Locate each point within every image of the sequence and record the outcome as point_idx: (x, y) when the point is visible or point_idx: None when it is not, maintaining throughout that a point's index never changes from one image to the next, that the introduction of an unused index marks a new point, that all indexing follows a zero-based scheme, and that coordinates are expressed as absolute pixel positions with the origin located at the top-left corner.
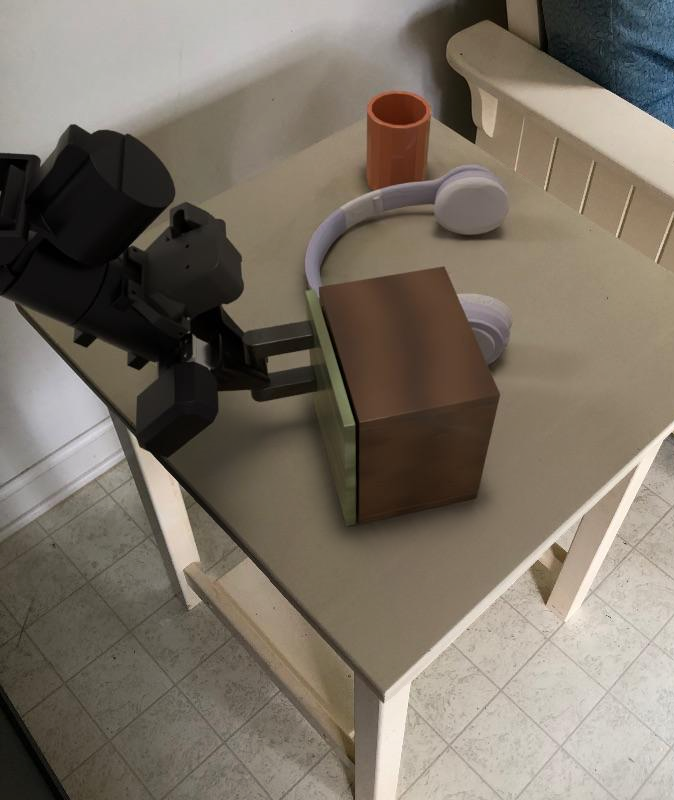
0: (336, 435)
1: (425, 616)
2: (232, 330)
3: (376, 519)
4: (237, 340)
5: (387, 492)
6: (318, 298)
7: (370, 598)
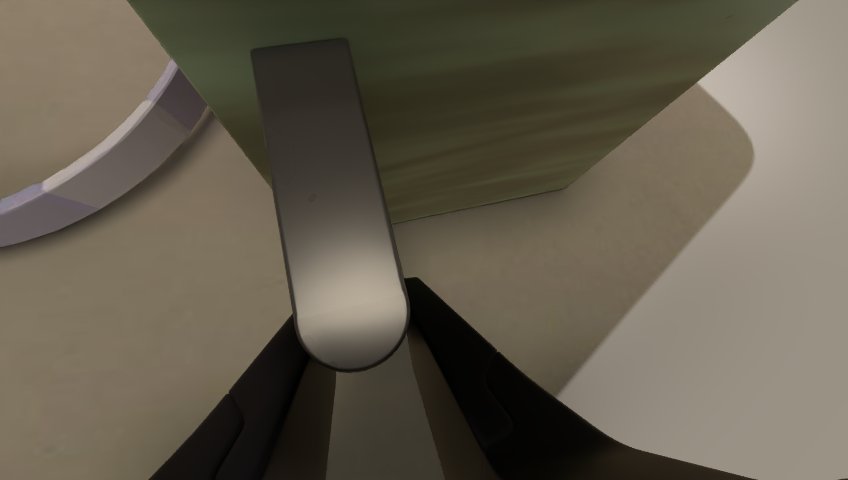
0: (633, 81)
1: (678, 98)
2: (272, 436)
3: None
4: (301, 401)
5: None
6: (20, 208)
7: (665, 161)
